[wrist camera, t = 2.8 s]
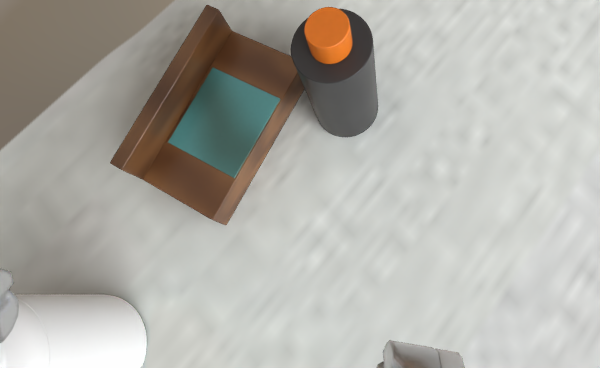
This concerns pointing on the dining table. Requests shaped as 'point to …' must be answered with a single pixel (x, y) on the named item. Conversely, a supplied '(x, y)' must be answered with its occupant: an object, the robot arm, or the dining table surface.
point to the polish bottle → (337, 70)
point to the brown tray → (211, 118)
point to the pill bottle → (74, 333)
